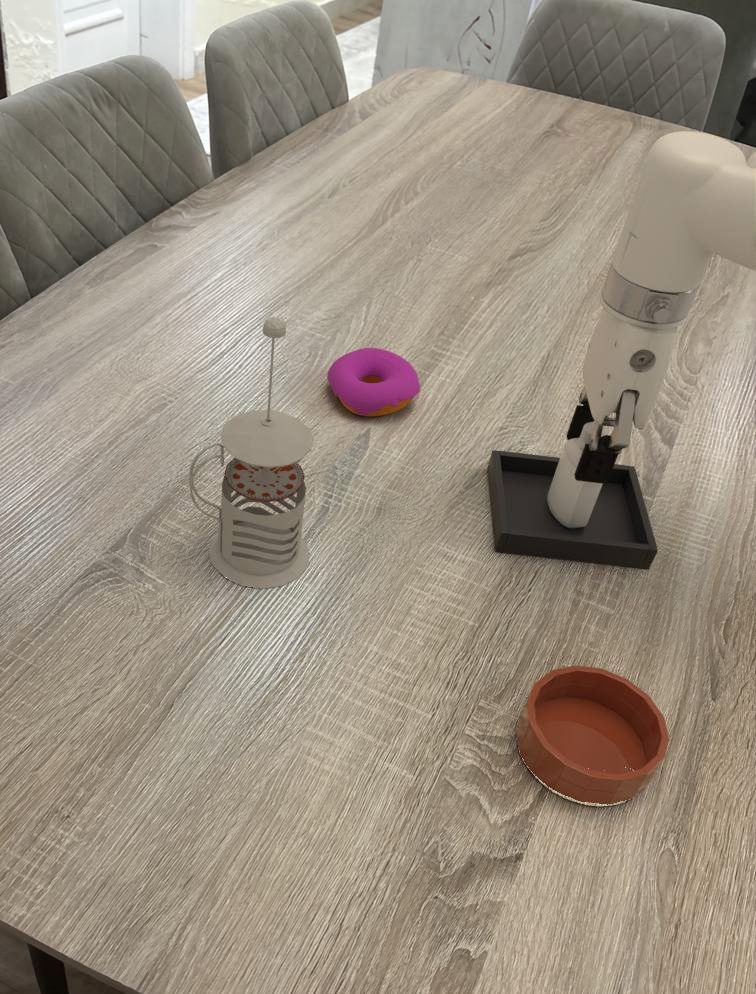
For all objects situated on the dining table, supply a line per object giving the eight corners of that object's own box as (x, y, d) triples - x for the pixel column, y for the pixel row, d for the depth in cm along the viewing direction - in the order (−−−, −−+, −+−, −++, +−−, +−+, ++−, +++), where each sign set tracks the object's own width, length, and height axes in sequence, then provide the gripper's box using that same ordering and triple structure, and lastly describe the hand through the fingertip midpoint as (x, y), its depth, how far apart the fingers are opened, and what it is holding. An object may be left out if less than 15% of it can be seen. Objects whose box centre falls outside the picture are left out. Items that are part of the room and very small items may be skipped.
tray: (626, 484, 104) (634, 466, 102) (649, 569, 94) (658, 550, 92) (486, 468, 104) (492, 449, 102) (495, 552, 94) (501, 532, 92)
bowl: (637, 703, 82) (654, 673, 79) (662, 815, 74) (681, 787, 71) (510, 688, 82) (522, 658, 79) (521, 799, 74) (534, 770, 71)
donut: (316, 378, 113) (320, 344, 110) (394, 370, 116) (400, 337, 113) (345, 428, 107) (350, 394, 103) (427, 418, 109) (434, 384, 106)
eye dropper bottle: (542, 524, 97) (576, 428, 88) (547, 491, 101) (579, 396, 92) (585, 534, 96) (622, 438, 88) (587, 500, 100) (624, 406, 92)
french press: (313, 589, 88) (344, 354, 70) (189, 588, 87) (187, 349, 69) (305, 519, 95) (331, 290, 77) (190, 518, 94) (188, 284, 76)
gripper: (714, 349, 75) (637, 520, 88) (671, 251, 87) (609, 415, 100) (621, 338, 75) (557, 511, 88) (591, 242, 87) (539, 407, 100)
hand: (586, 458), depth 93 cm, fingers closed on eye dropper bottle, 5 cm apart
